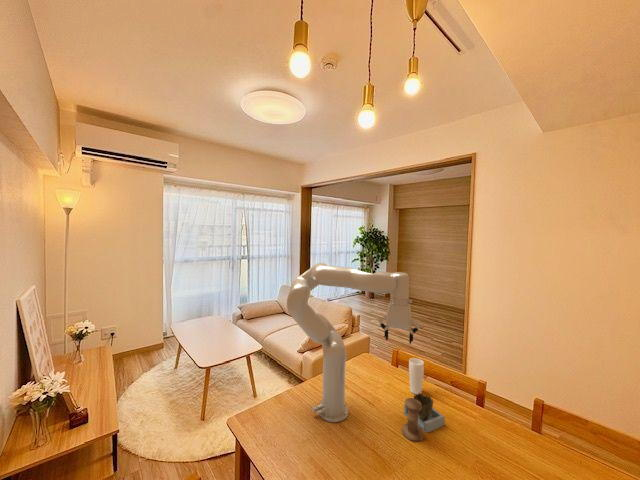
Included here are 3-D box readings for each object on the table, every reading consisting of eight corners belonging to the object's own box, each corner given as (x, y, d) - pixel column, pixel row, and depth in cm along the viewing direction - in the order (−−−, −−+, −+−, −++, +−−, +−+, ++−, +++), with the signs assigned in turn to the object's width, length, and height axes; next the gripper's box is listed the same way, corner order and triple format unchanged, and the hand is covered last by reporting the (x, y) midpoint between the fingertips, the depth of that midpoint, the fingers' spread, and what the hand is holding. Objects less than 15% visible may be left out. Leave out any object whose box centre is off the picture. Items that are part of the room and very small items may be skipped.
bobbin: (412, 444, 93) (413, 412, 93) (397, 429, 100) (398, 399, 100) (427, 437, 96) (428, 406, 96) (412, 424, 103) (413, 394, 103)
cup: (434, 415, 107) (434, 397, 107) (431, 427, 101) (431, 407, 100) (415, 409, 111) (416, 390, 111) (411, 419, 105) (411, 400, 105)
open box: (426, 433, 99) (426, 424, 99) (404, 413, 109) (404, 404, 109) (444, 425, 103) (444, 416, 103) (420, 406, 114) (421, 398, 114)
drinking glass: (424, 397, 120) (425, 365, 120) (409, 395, 122) (410, 364, 121) (421, 388, 127) (422, 358, 127) (407, 386, 128) (408, 357, 128)
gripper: (420, 301, 111) (419, 340, 111) (379, 297, 117) (379, 334, 117) (421, 305, 104) (420, 347, 104) (377, 301, 110) (376, 341, 110)
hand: (398, 340), depth 111 cm, fingers open, 9 cm apart
